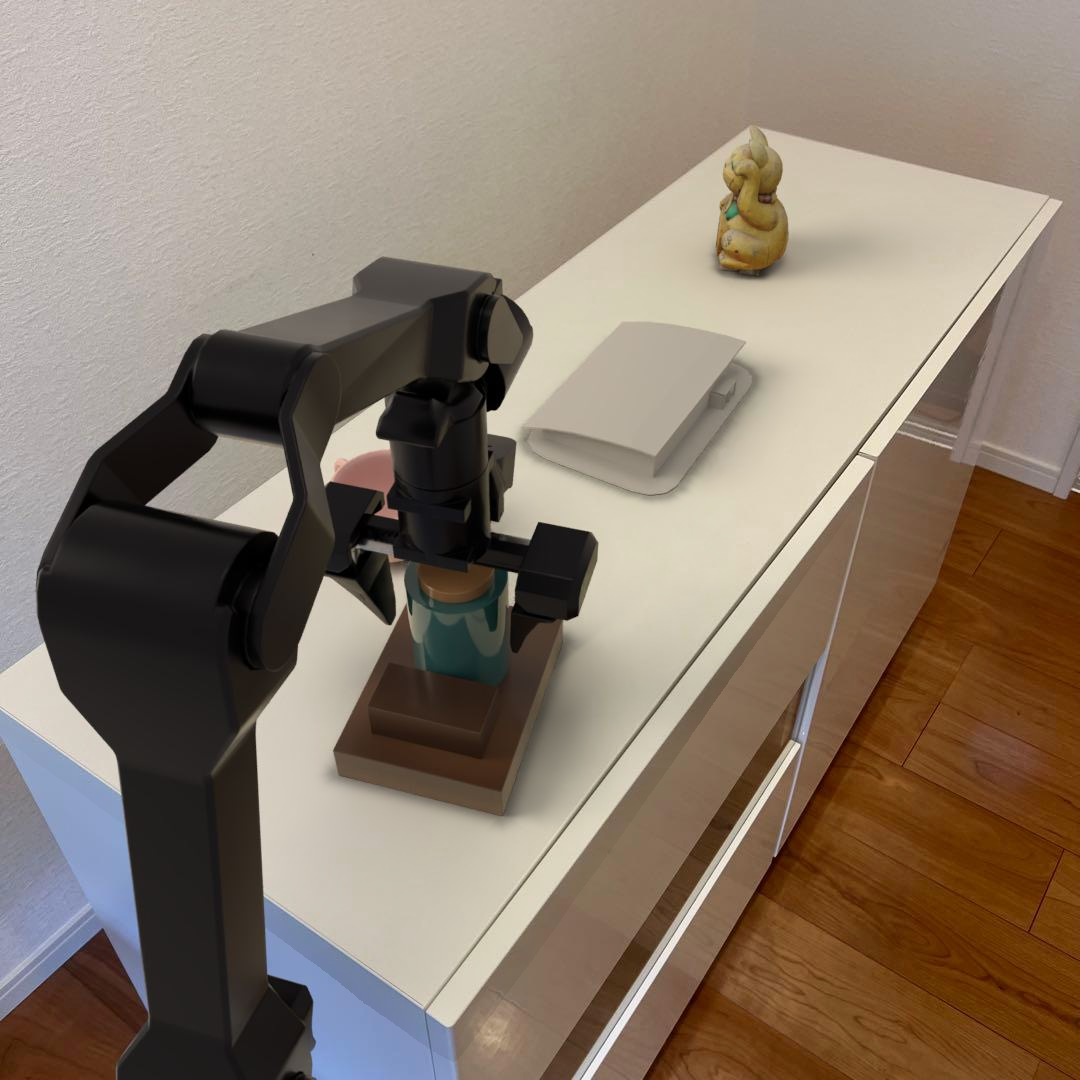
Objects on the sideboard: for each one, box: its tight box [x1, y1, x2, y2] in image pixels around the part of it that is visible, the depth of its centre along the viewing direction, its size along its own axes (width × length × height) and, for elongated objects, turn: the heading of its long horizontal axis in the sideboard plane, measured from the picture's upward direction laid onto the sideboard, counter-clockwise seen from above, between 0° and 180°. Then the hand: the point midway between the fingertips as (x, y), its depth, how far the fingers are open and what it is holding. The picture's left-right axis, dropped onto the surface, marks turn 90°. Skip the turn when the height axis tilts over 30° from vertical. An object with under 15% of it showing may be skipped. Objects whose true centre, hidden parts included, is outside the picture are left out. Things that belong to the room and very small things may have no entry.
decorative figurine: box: [715, 124, 790, 277], centre depth 120 cm, size 10×8×15 cm
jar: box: [403, 561, 510, 686], centre depth 75 cm, size 11×7×11 cm
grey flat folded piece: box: [521, 321, 753, 496], centre depth 104 cm, size 15×23×4 cm, turn 150°
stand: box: [332, 602, 564, 817], centre depth 77 cm, size 16×12×6 cm
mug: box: [329, 448, 404, 563], centre depth 91 cm, size 12×10×6 cm
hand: (453, 634), depth 75 cm, fingers open, 9 cm apart
